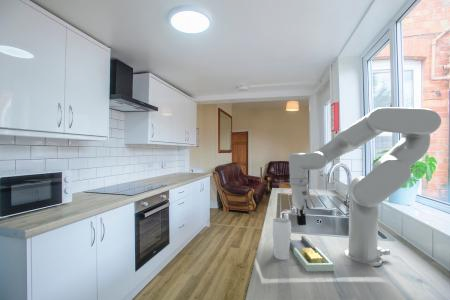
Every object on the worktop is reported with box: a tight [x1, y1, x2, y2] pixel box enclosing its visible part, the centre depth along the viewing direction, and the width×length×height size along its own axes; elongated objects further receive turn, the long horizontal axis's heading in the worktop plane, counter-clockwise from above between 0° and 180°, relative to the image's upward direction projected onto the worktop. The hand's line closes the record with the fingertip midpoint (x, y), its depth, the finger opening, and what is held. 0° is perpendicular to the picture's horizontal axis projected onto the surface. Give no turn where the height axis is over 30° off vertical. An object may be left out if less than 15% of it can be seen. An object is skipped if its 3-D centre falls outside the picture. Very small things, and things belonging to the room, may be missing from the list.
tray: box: [293, 246, 335, 272], centre depth 83 cm, size 9×13×3 cm
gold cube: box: [301, 248, 315, 259], centre depth 85 cm, size 4×4×4 cm
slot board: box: [289, 235, 316, 253], centre depth 95 cm, size 8×12×3 cm
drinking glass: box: [272, 217, 292, 261], centre depth 86 cm, size 7×7×15 cm
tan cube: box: [306, 253, 323, 263], centre depth 81 cm, size 4×4×4 cm
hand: (301, 224), depth 97 cm, fingers closed
